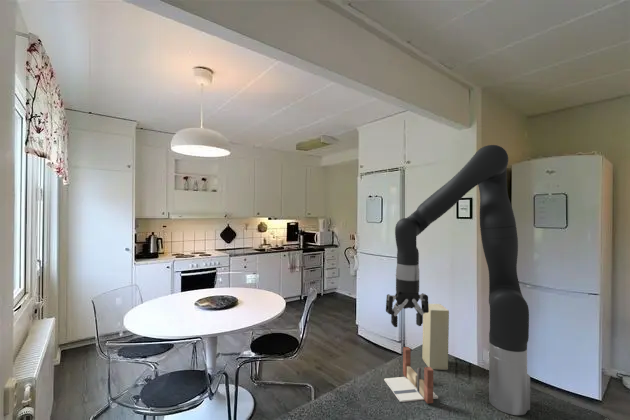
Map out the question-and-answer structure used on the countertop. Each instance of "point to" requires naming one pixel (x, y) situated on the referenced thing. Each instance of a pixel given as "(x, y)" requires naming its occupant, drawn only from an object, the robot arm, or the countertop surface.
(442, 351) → the upright wooden block
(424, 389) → the brown piece
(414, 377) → the toy gate half
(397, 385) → the card
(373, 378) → the countertop surface
